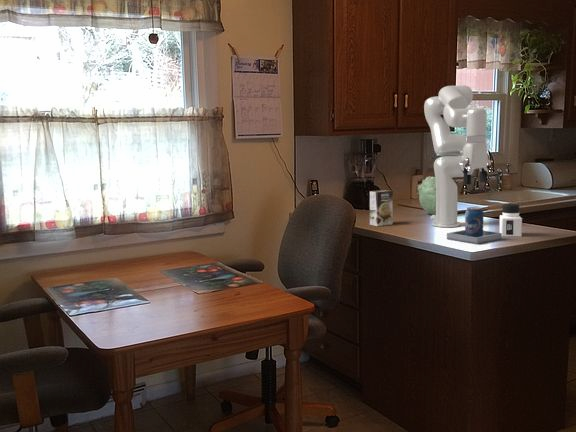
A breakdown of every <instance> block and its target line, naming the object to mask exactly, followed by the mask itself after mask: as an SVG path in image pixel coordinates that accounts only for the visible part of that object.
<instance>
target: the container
mask: <svg viewBox="0 0 576 432" xmlns="http://www.w3.org/2000/svg"><path fill="white" fill-rule="evenodd" d="M501 207H502V208H501V209H502V215H501V214H500V215H499V229H498V230H499V231H498V233H502V237H522V232H523V230H522V229H523V217H521V216H520V205H519V204H517V203H511V202H509V203H504V204H503V205H502V206H501Z"/></svg>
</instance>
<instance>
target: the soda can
mask: <svg viewBox="0 0 576 432" xmlns="http://www.w3.org/2000/svg"><path fill="white" fill-rule="evenodd" d="M464 217H465V219H464V222H465V223H464V225H465V227H464V230H465V235H466V236H471V237H481V236H483V230H484V211H483V208H482V207H477V206H476V207H475V206H474V207H473V206H471V207H466V211H465V216H464Z"/></svg>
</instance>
